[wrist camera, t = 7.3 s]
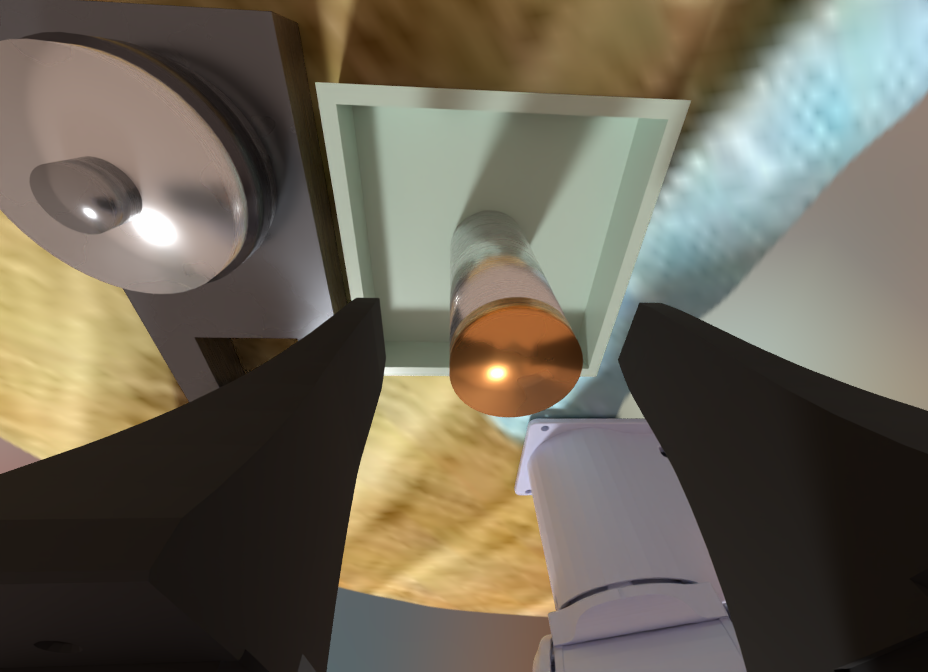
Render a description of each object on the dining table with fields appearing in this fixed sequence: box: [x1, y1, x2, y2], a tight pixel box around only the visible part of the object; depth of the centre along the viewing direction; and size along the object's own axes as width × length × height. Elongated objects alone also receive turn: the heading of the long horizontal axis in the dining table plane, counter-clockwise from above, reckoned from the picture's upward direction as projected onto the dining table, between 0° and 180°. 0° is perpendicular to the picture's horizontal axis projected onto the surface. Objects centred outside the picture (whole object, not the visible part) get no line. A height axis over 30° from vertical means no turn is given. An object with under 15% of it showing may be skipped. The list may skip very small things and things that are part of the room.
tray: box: [315, 82, 691, 377], centre depth 14 cm, size 11×11×2 cm
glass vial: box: [449, 210, 583, 417], centre depth 12 cm, size 3×3×8 cm
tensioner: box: [0, 0, 347, 402], centre depth 13 cm, size 8×17×6 cm, turn 178°
